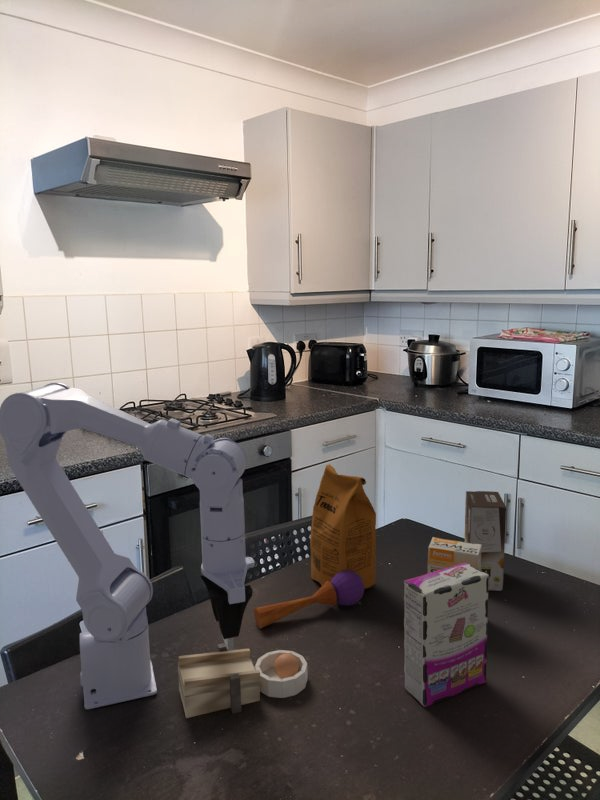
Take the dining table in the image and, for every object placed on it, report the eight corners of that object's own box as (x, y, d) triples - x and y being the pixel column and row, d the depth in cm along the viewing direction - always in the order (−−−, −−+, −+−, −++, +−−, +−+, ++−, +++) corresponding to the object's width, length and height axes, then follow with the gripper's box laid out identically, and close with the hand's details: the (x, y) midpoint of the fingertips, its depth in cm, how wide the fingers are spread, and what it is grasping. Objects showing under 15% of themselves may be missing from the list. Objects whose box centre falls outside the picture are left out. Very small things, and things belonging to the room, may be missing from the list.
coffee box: (504, 591, 112) (507, 507, 109) (467, 590, 113) (470, 506, 110) (495, 569, 121) (498, 490, 118) (462, 567, 122) (464, 490, 119)
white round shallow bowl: (264, 702, 83) (263, 685, 83) (250, 671, 90) (249, 656, 90) (314, 690, 86) (313, 674, 85) (297, 661, 92) (296, 646, 92)
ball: (274, 682, 85) (284, 659, 85) (267, 668, 89) (277, 646, 89) (295, 686, 87) (305, 664, 87) (288, 672, 90) (297, 651, 90)
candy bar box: (462, 664, 91) (466, 560, 88) (487, 683, 86) (491, 574, 84) (400, 688, 86) (402, 578, 83) (423, 709, 81) (426, 594, 78)
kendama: (248, 596, 104) (350, 563, 112) (254, 630, 104) (356, 594, 113) (261, 605, 99) (367, 570, 107) (267, 641, 99) (373, 603, 107)
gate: (225, 651, 82) (223, 617, 81) (218, 636, 86) (217, 603, 85) (236, 649, 82) (235, 615, 81) (230, 633, 86) (228, 601, 85)
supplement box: (425, 620, 103) (426, 546, 101) (430, 606, 107) (431, 535, 105) (476, 630, 100) (478, 554, 98) (479, 615, 104) (482, 542, 102)
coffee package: (345, 564, 124) (345, 458, 120) (383, 589, 114) (383, 474, 110) (302, 576, 119) (300, 466, 116) (337, 603, 109) (336, 483, 105)
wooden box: (187, 724, 79) (185, 688, 78) (177, 685, 87) (175, 651, 86) (263, 706, 83) (262, 670, 82) (247, 669, 91) (246, 636, 90)
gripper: (267, 549, 76) (270, 650, 78) (239, 510, 89) (242, 597, 92) (210, 558, 73) (215, 662, 76) (190, 517, 87) (195, 606, 89)
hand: (226, 627), depth 84 cm, fingers closed on gate, 4 cm apart
